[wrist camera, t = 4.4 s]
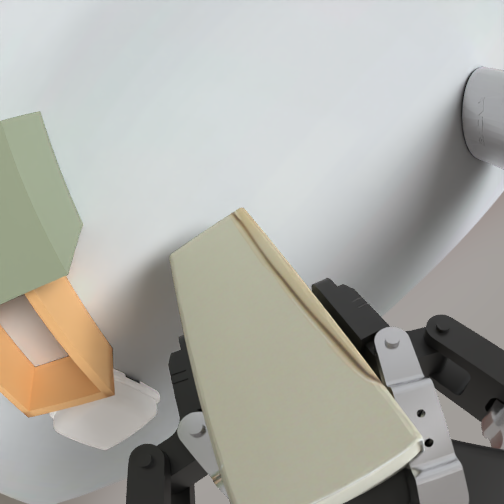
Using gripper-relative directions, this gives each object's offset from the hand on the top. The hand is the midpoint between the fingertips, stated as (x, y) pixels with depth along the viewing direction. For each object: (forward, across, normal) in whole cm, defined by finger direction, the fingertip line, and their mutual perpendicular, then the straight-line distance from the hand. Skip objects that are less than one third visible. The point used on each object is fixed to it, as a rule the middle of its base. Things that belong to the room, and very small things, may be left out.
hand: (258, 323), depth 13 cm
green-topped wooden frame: (+6, +13, -3) cm, 14 cm away
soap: (+7, +13, +10) cm, 18 cm away
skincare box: (+4, 0, 0) cm, 4 cm away
